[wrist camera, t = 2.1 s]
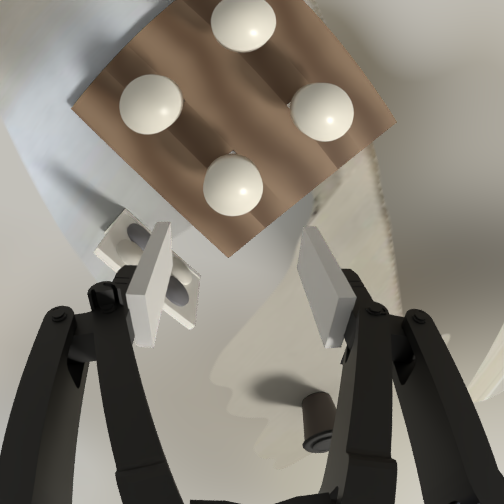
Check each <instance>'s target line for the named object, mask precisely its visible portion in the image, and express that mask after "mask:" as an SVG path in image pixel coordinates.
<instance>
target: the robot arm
mask: <svg viewBox="0 0 504 504" xmlns="http://www.w3.org/2000/svg"><path fill="white" fill-rule="evenodd" d="M172 267H173V260H172V242H171V222H157V223H156V225H155V227H154V229H153V231H152V234H151V236H150V238H149V240H148V243H147V245H146V247H145V249H144V252H143V254H142V256H141V258H140V261H139V263H138V265H124V266H123V267H122V268H120V269H119V270H118V271H117V273H116V275H115V278H114V280H113V282H110V281H104V282H99V283H96V284H95V285H93V286H91V288H90V289H89V290H88V298H89V302H90V306H91V309H92V311H91V312H87V313H83V314H76V315H74V312H73V310H72V309H71V308H70V307H67V306H58V307H55V308H53V309H51V310H50V311H48V312H47V314H46V315H45V317H44V319H43V322H42V324H41V327H40V329H39V331H38V334H37V336H36V339H35V342H34V344H33V347H32V350H31V352H30V355H29V357H28V360H27V363H26V366H25V369H24V371H23V374H22V377H21V380H20V383H19V387H18V390H17V393H16V397H15V399H14V403H13V406H12V410H11V413H10V417H9V421H8V424H7V428H6V433H5V436H4V441H3V445H2V450H1V455H0V504H72V491H73V475H74V463H75V453H76V443H77V435H78V427H79V420H80V413H81V406H82V400H83V394H84V388H85V383H86V377H87V372H88V367H89V362H90V361H97V369H98V376H99V383H100V389H101V396H102V402H103V407H104V413H105V418H106V423H107V428H108V433H109V438H110V442H111V447H112V451H113V455H114V459H115V463H116V468H117V471H116V473H115V476H116V481H117V485H118V489H119V492H120V496H121V499H122V502H123V504H184V503H183V500H182V498H181V496H180V494H179V491H178V489H177V486H176V484H175V481H174V479H173V476H172V473H171V471H170V468H169V465H168V463H167V460H166V457H165V455H164V452H163V449H162V446H161V443H160V440H159V437H158V435H157V431H156V429H155V425H154V422H153V419H152V416H151V413H150V409H149V406H148V403H147V399H146V396H145V393H144V389H143V386H142V382H141V378H140V374H139V371H138V367H137V363H136V359H135V355H134V351H133V347H132V344H133V341H134V338H135V342H136V346H137V347H152V348H153V347H154V344H155V339H156V334H157V330H158V325H159V321H160V316H161V312H162V308H163V304H164V299H165V295H166V291H167V287H168V283H169V279H170V275H171V271H172ZM297 270H298V272H299V275H300V278H301V281H302V284H303V287H304V289H305V292H306V295H307V298H308V301H309V304H310V307H311V309H312V312H313V315H314V318H315V321H316V324H317V327H318V330H319V333H320V336H321V339H322V342H323V345H324V348H336V347H341V345H342V342H343V339H344V338H345V341H346V343H347V347H346V349H345V352H344V355H343V358H342V360H341V363H340V364H343V369H342V376H341V383H340V390H339V397H338V404H337V410H336V416H335V422H334V428H333V433H332V439H331V444H330V449H329V454H328V459H327V465H326V469H325V474H324V478H323V482H322V486H321V488H320V491H319V493H318V494H314V495H306V496H298V497H294V498H291V499H288V500H285V501H282V502H279V503H276V504H394V503H395V494H396V493H395V492H396V481H397V462H396V460H394V459H392V458H391V437H392V379H393V382H394V385H395V389H396V392H397V395H398V398H399V402H400V405H401V409H402V413H403V416H404V420H405V423H406V427H407V431H408V435H409V439H410V443H411V446H412V451H413V455H414V459H415V463H416V467H417V472H418V476H419V481H420V485H421V490H422V495H423V500H424V504H504V477H503V475H502V474H501V473H500V471H499V470H498V467H497V464H496V461H495V458H494V455H493V453H492V450H491V447H490V444H489V442H488V439H487V436H486V434H485V431H484V429H483V426H482V424H481V421H480V419H479V416H478V414H477V411H476V409H475V407H474V404H473V402H472V399H471V397H470V395H469V393H468V390H467V388H466V386H465V384H464V382H463V379H462V377H461V375H460V373H459V371H458V369H457V367H456V365H455V362H454V360H453V358H452V357H451V354H450V352H449V350H448V348H447V346H446V344H445V342H444V340H443V339H442V337H441V335H440V333H439V331H438V329H437V327H436V326H435V323H434V322H433V320H432V318H431V317H430V316H429V315H428V314H427V313H426V312H424V311H422V310H418V309H411V310H408V311H407V313H406V315H405V317H400V316H394V315H390V314H389V312H388V310H387V308H386V307H385V306H383V305H382V304H380V303H377V302H374V301H373V300H372V298H371V296H370V294H369V293H368V291H367V289H366V288H365V287H364V284H363V283H362V282H361V279H360V278H359V276H358V275H357V274H356V273H355V272H354V271H352V270H351V269H341V268H340V266H339V264H338V263H337V261H336V259H335V257H334V256H333V254H332V252H331V250H330V249H329V247H328V245H327V243H326V242H325V240H324V238H323V237H322V235H321V233H320V231H319V230H318V228H317V226H303V233H302V239H301V246H300V252H299V259H298V265H297ZM190 504H238V503H234V502H229V501H210V500H209V501H208V500H190Z"/></svg>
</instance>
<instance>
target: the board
mask: <svg viewBox="0 0 504 504" xmlns="http://www.w3.org/2000/svg"><path fill="white" fill-rule="evenodd" d="M221 1H222V0H175V1H174V2H173V3H171V4H170V5H169V6H168V7H167V8H165V9H164V10H163V11H162V12H161V13H160V14H159V15H157V16H156V17H155V18H154V19H153V20H152V21H151V22H150V23H149V24H148V25H146V26H145V27H144V28H143V29H142V30H141V31H140V32H139V33H138V34H137V35H136V36H135V37H134V38H133V39H132V40H131V41H130V42H129V43H128V44H127V45H126V46H125V47H124V48H123V49H122V50H121V51H120V52H119V53H118V54H117V55H116V56H115V57H114V58H113V59H112V61H111V62H110V63H109V64H108V65H107V66H106V67H105V68H104V69H103V70H102V72H101V73H100V74H99V75H98V76H97V77H96V78H95V80H94V81H93V82H92V83H91V84H90V86H89V87H88V88H87V89H86V90H85V92H84V93H83V94H82V95H81V97H80V98H79V99H78V100H77V102H76V103H75V104H74V105H73V107H72V108H71V109H72V110H73V111H74V112H75V113H76V114H77V115H78V116H79V117H80V118H81V119H82V120H83V121H84V122H85V123H86V124H87V125H88V126H89V127H90V128H91V129H92V130H93V131H94V132H95V133H96V134H97V135H98V136H99V137H100V138H101V139H103V140H104V141H105V142H106V143H107V144H108V145H109V146H110V147H111V148H112V149H113V150H114V151H115V152H116V153H117V154H118V155H119V156H120V157H121V158H122V159H123V160H124V161H125V162H126V163H127V164H128V165H130V166H131V167H132V168H133V169H134V170H135V171H136V172H137V173H138V174H139V175H140V176H141V177H142V178H143V179H144V180H145V181H146V182H147V183H148V184H149V185H151V186H152V187H153V188H154V189H155V190H156V191H157V192H158V193H159V194H160V195H161V196H162V197H163V198H164V199H165V200H166V201H167V202H169V203H170V204H171V205H172V206H173V207H174V208H175V209H176V210H177V211H178V212H179V213H180V214H181V215H182V216H183V217H185V218H186V219H187V220H188V221H189V222H190V223H191V224H192V225H193V226H194V227H195V228H196V229H197V230H199V231H200V232H201V233H202V234H203V235H204V236H205V237H206V238H207V239H208V240H209V241H210V242H211V243H213V244H214V245H215V246H216V247H217V248H218V249H219V250H220V251H221V252H222V253H224V254H225V255H226V256H227V257H228V258H229V257H230V256H232V255H233V254H234V253H235V252H236V251H238V250H239V249H240V248H241V247H243V246H244V245H245V244H246V243H247V242H249V241H250V240H251V239H252V238H253V237H255V236H256V235H257V234H258V233H260V232H261V231H262V230H263V229H265V228H266V227H267V226H268V225H270V224H271V223H272V222H273V221H274V220H276V219H277V218H278V217H279V216H281V215H282V214H283V213H284V212H286V211H287V210H288V209H289V208H291V207H292V206H293V205H294V204H295V203H297V202H298V201H299V200H300V199H301V198H303V197H304V196H305V195H306V194H308V193H309V192H310V191H312V190H313V189H314V188H315V187H316V186H318V185H319V184H320V183H321V182H323V181H324V180H325V179H326V178H328V177H329V176H330V175H331V174H333V173H334V172H335V171H336V170H338V169H339V168H340V167H341V166H343V165H344V164H345V163H346V162H348V161H349V160H350V159H351V158H353V157H354V156H355V155H356V154H358V153H359V152H360V151H361V150H363V149H364V148H365V147H366V146H368V145H369V144H370V143H371V142H373V141H374V140H375V139H376V138H378V137H379V136H380V135H381V134H383V133H384V132H385V131H386V130H388V129H389V128H390V127H391V126H393V125H394V124H395V123H397V121H396V120H395V118H394V117H393V115H392V113H391V112H390V110H389V109H388V107H387V106H386V105H385V103H384V101H383V100H382V98H381V97H380V95H379V94H378V92H377V91H376V89H375V88H374V87H373V85H372V84H371V82H370V81H369V80H368V78H367V77H366V75H365V74H364V73H363V71H362V70H361V69H360V67H359V66H358V64H357V63H356V62H355V61H354V60H353V58H352V57H351V55H350V54H349V53H348V52H347V50H346V49H345V48H344V46H343V45H342V44H341V43H340V42H339V40H338V39H337V38H336V37H335V36H334V34H333V33H332V32H331V31H330V30H329V28H328V27H327V26H326V25H325V24H324V23H323V21H322V20H321V19H320V18H319V17H318V16H317V15H316V14H315V13H314V11H313V10H312V9H311V8H310V7H309V6H308V5H307V4H306V3H305V2H304V1H303V0H265V1H266V2H267V3H268V4H269V5H270V6H271V8H272V9H273V11H274V13H275V16H276V27H275V30H274V32H273V34H272V36H271V37H270V38H269V40H268V41H267V42H266V43H265V44H264V45H263V46H262V47H260V48H259V49H257V50H254V51H251V52H246V53H240V54H239V53H238V52H233V51H230V50H228V49H226V48H224V47H223V46H221V45H220V44H219V43H218V42H217V40H216V39H215V37H214V34H213V31H212V27H211V17H212V13H213V11H214V9H215V8H216V6H217V5H218V4H219V3H220V2H221ZM149 74H151V75H160V76H165V77H168V78H170V79H172V80H173V81H174V82H176V84H177V85H178V86H179V87H180V89H181V91H182V94H183V99H184V100H185V102H183V108H182V111H181V114H180V115H179V117H178V118H177V120H176V121H175V122H174V123H173V124H172V125H170V126H169V127H167V128H166V129H164V130H163V131H161V132H158V133H155V134H140V133H137V132H135V131H133V130H132V129H130V128H129V127H128V126H127V125H126V124H125V123H124V121H123V119H122V117H121V114H120V108H119V105H120V98H121V95H122V93H123V91H124V89H125V88H126V87H127V85H128V84H129V83H130V82H132V81H133V80H134V79H136V78H138V77H140V76H144V75H149ZM311 83H329V84H333V85H336V86H338V87H340V88H341V89H342V90H343V91H345V92H346V94H347V95H348V96H349V98H350V100H351V102H352V105H353V110H354V116H353V121H352V124H351V126H350V128H349V129H348V131H347V132H346V133H345V134H344V135H343V136H341V137H340V138H338V139H336V140H333V141H326V142H325V141H318V140H315V139H312V138H310V137H309V136H307V135H306V134H304V133H303V132H301V131H300V130H299V129H298V128H297V127H296V126H295V125H294V123H293V121H292V119H291V115H290V109H289V108H288V107H287V104H288V103H290V102H291V100H292V98H293V96H294V94H295V93H296V92H297V91H298V90H299V89H300V88H301V87H303V86H305V85H307V84H311ZM232 150H234V151H235V152H236V153H237V154H239V155H243V156H245V157H247V158H249V159H250V160H251V161H252V162H253V163H254V164H255V165H256V167H257V168H258V171H259V173H260V176H261V179H262V183H263V192H262V196H261V199H260V201H259V202H258V204H257V205H256V206H255V207H254V208H253V209H252V210H251V211H249V212H247V213H245V214H243V215H239V216H227V215H223V214H220V213H218V212H216V211H215V210H214V209H212V208H211V207H210V206H209V204H208V203H207V201H206V199H205V196H204V192H203V184H204V180H205V175H206V172H207V169H208V167H209V166H210V165H211V163H212V162H213V161H214V160H216V159H217V158H219V157H221V156H223V155H226V154H229V153H230V152H231V151H232Z"/></svg>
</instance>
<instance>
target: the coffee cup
mask: <svg viewBox="0 0 504 504" xmlns="http://www.w3.org/2000/svg"><path fill="white" fill-rule="evenodd" d="M302 409H303V423H304V437H305V441H304V443H303V448H304V449H305V450H306V451H308V452H312V453H324V452H327V451H329V449H330V444H331V439H332V433H333V428H334V422H335V416H336V410H337V409H336V407H335V405H334V403H333V401H332V398H331V396H330V395H329V394H328V393H324V392H319V393H314V394H311V395H309V396H307V397H306V398H305V399H304V400H303V402H302Z"/></svg>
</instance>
